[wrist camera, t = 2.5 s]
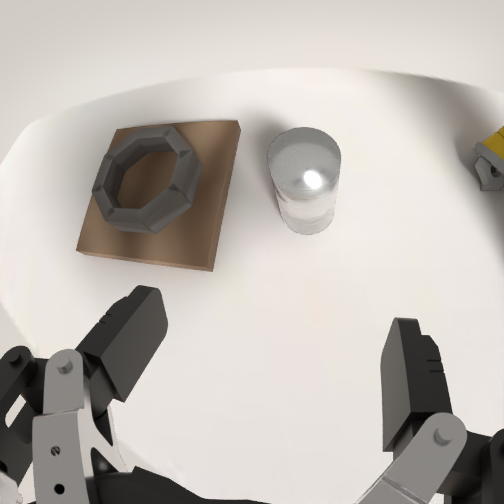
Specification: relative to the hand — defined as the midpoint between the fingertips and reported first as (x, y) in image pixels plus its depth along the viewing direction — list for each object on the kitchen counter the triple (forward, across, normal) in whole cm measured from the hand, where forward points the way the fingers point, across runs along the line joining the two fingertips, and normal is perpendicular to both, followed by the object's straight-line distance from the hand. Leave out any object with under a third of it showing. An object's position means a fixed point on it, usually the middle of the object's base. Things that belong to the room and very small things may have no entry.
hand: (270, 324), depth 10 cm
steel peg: (+16, 0, +2) cm, 17 cm away
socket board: (+17, +14, +2) cm, 22 cm away
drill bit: (+22, -18, -2) cm, 28 cm away
